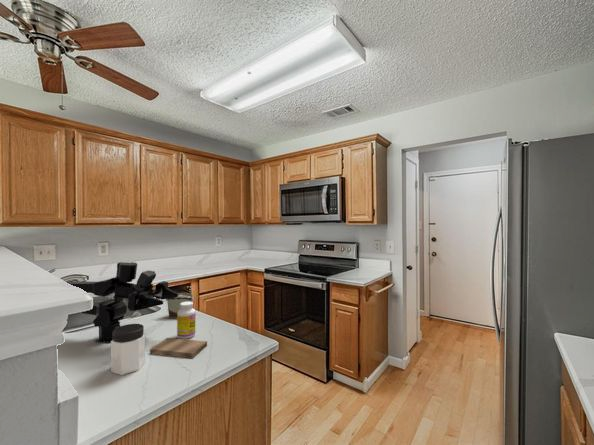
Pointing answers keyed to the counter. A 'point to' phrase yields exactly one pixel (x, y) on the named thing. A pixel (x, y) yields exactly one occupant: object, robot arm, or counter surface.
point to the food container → (177, 303)
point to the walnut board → (179, 347)
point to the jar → (127, 349)
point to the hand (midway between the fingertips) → (170, 299)
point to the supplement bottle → (186, 321)
